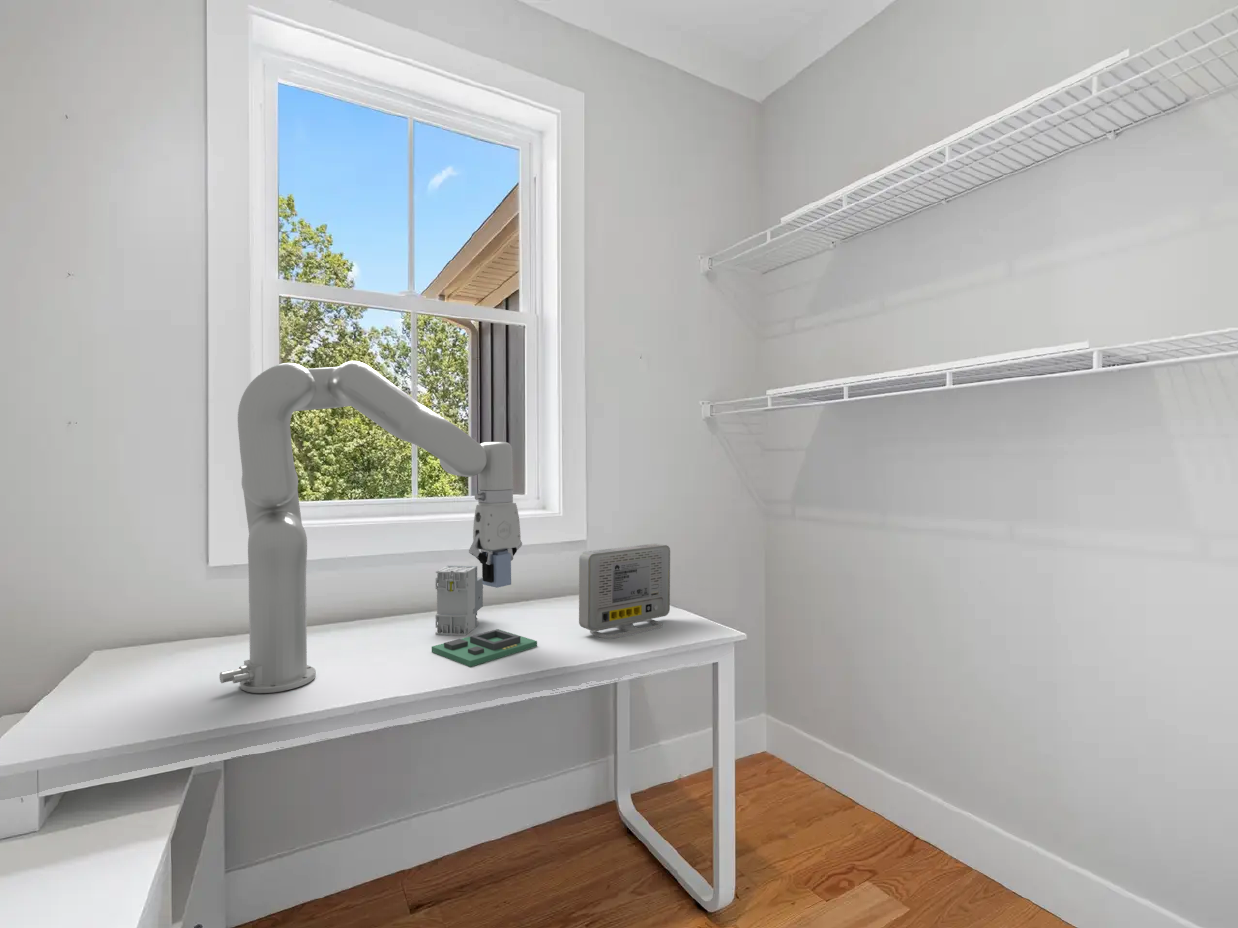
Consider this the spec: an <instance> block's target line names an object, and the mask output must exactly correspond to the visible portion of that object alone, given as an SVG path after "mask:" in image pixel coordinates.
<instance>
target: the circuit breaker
mask: <svg viewBox="0 0 1238 928" xmlns="http://www.w3.org/2000/svg"><path fill="white" fill-rule="evenodd" d="M435 573H436V574H437V577H436V578H435V590H436V614H435V628H436V632H435V635H445V636H447V635H448V636H451V635H452V636H467V634H468V635H469V634H470V633H471V632H472V631H473V630H474V629H476V628H477V626H478V618H477V616H478V611H479V610H480V609H482V608H483V606H484V605H483V604H484V601H483V600H484V585H483V577H478V566H477V565H446V566H443V567H442V568H440V569H438V570H437V571H435Z"/></svg>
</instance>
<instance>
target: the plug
mask: <svg viewBox="0 0 1238 928" xmlns="http://www.w3.org/2000/svg"><path fill="white" fill-rule="evenodd" d="M486 556H487V552H486ZM491 564H493V566H494V582H492V583H489V582H485V581H483V586H488V587H492V588H495V589H496V588H497V589H498V588H501V587H506V586H511V585H512V561H511V553H508V551H507V550H496V551H493V555H492V562H491Z"/></svg>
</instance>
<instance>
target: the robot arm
mask: <svg viewBox="0 0 1238 928" xmlns="http://www.w3.org/2000/svg"><path fill="white" fill-rule="evenodd" d="M345 407H352V408H353V409H355V410H356V411H357V412H359V413H360V414H362V415H363V416H366V418H368V419H369V420H371V421H372V422H374V423H375V424H376V425H378V426H379V427H381V428H382V429H383V430H385V431H386V432H387V433H389V435H390V434H391V435H392V436H394V437H396V438H398V439H399V440H401V441H403V442H404V441H405V442H407V443H410V444H412V445H415V446H417V447H419V448H421V449H423V450H425V451H426V452H428V453H430V454H431V455H433V456H434V457H436V458H437V459H438V461H439V465H440V467H441V468H442V469H443V470H444V471H445V472H446V473H448V474H450V475H453V476H456V477H457V476H458V477H467V478H469V477H470V478H471V477H476V476H477V482H478V483H477V484H478V487H477V488H478V492H477V493H475V494H474V499H475V500H476V501H478V504H476V505H475V512H474V517H473V529H472V530H473V531H472V538H473V539H472V543H471V544H470V545H471V546H470V547H469V549H468V553H469V554H471V556H473V557H475V558H476V559H477V560H478V562H479V564H481V570H482V572H481V573H482V574H481V576H482V577H481V578H483V581H485V582H489V583H492V582H494V566H493V564H491V562H492V555H493V551H496V550H507V551H508V553H511V562H512V561H513V560H514V556H515V555H516V553H517V551H518V550H520V548H521V547H522V546H523V541H522V540H521V536H522V535H521V524H520V514H519V510H518V505H517V503H516V502H514V485H513V484H514V481H513V480H514V473H513V472H514V471H513V468H514V467H513V464H514V463H513V447H512V445H511V444H510V443H509V442H506V441H484V442H481V443H479V442H478V441H476V439H474V438H473V437H471V436H470V435H469V434H467V433H466V432H465V431H463V430H462V429H461V428H459V426H457V425H455V424H453V423H452V422H451V421H449V420H447V419H446V418H445V417H443V416H441V415H440V414H438V413H436V412H434V411H433V410H432V409H431V408H429V407H427V406H425V405H424V404H422V403H420V402H419V401H418V400H417V399H415V398H413V397H412V396H411V395H409V394H408V393H406V392H405V391H403V390H402V389H401V388H399V387H398V386H397V385H395V384H394V383H393V382H392V381H390V380H389V379H387V378H386V377H384V376H383V375H382V374H380V373H379V372H378V371H377V370H375V369H374V368H373V367H371V366H369V365H368V364H366V363H364V362H361V361H359V360H358V361H357V360H349V361H346V362H344V363H342V364H340V365H339V366H333V367H332V366H331V367H330V366H329V367H315V368H313V367H312V368H306V367H304V366H302V365H301V364H298V363H294V362H283V363H279V364H276V365H274V366H271V367H269V368H267V369H266V370H264V371H263V372H261V373H260V374H258V375H257V376H256V377H255V378H254V379H253V380H252V381H251V382H250V383H249V384H248V386H246V389H245V390H244V392H243V393H242V395H241V398H240V401H239V405H238V409H237V431H238V440H239V441H238V442H239V453H240V460H241V474H242V475H241V489H242V491H243V497H244V506H245V512H246V520H247V526H248V527H247V528H248V540H247V559H248V561H247V564H248V605H249V606H248V607H249V608H248V611H249V612H248V613H249V616H248V617H249V620H248V621H249V622H248V623H249V624H248V625H249V629H248V630H249V659H247V660H244V661H243V664H244V665H240V666H239V667H238V668H237V669H233V670H232V669H230V670H227V671H220V673H219V682H220V684H223V683H224V684H225V683H228V682H232V683H233V684H237V683H239V688H240V689H241V690H242V691H244V692H247V693H252V694H269V693H270V694H271V693H279V692H284V691H289V690H293V689H297V688H300V687H302V686H304V685H308V684H309V683H310V682H311V683H312V681H313V680H314V679H315V678H316V675H317V670H316V668H315V667H313V666H311V665H307V664H308V661H307V660H308V658H307V657H308V656H307V653H308V651H307V640H308V638H307V632H308V631H307V630H308V629H307V560H308V559H307V558H308V538H307V533H306V530H305V527H304V526H303V522H302V516H301V507H300V498H299V490H298V487H299V478H298V473H297V470H296V467H295V462H294V461H295V460H294V454H293V447H292V432H291V419H292V415H293V413H295V412H299V411H300V412H301V411H311V410H313V411H315V410H325V409H335V408H337V409H338V408H339V409H340V408H345ZM486 552H487V556H486Z"/></svg>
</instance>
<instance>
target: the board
mask: <svg viewBox="0 0 1238 928" xmlns="http://www.w3.org/2000/svg"><path fill="white" fill-rule="evenodd" d="M536 647H538V640H535V639H532V638H528V637H526V636H522V635H520V634H519V635H518V634H515V633H512V632H509V631H506V630H502V629H497V628H496V629H491V630H489V631H485V632H481V633H477V634H473V635H469V636H466V637H463V638H457V639H453V640H449V641H445V642H443V643H440V644H436V645H432V646H431V653H434V654H436V655H437V656H438V655H439V656H441V657H444V658H446V659H449V660H451V661H454V662H456V663H458V664H462V665H465V666H467V667H470V668H471V667H473V666H474V667H475V666H477V665H481V664H484V663H488V662H490V661H495V660H497V659H500V658H503V657H507V656H510V655H513V654H517V653H520V652H523V651H527V650H530V649H533V648H536Z"/></svg>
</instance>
